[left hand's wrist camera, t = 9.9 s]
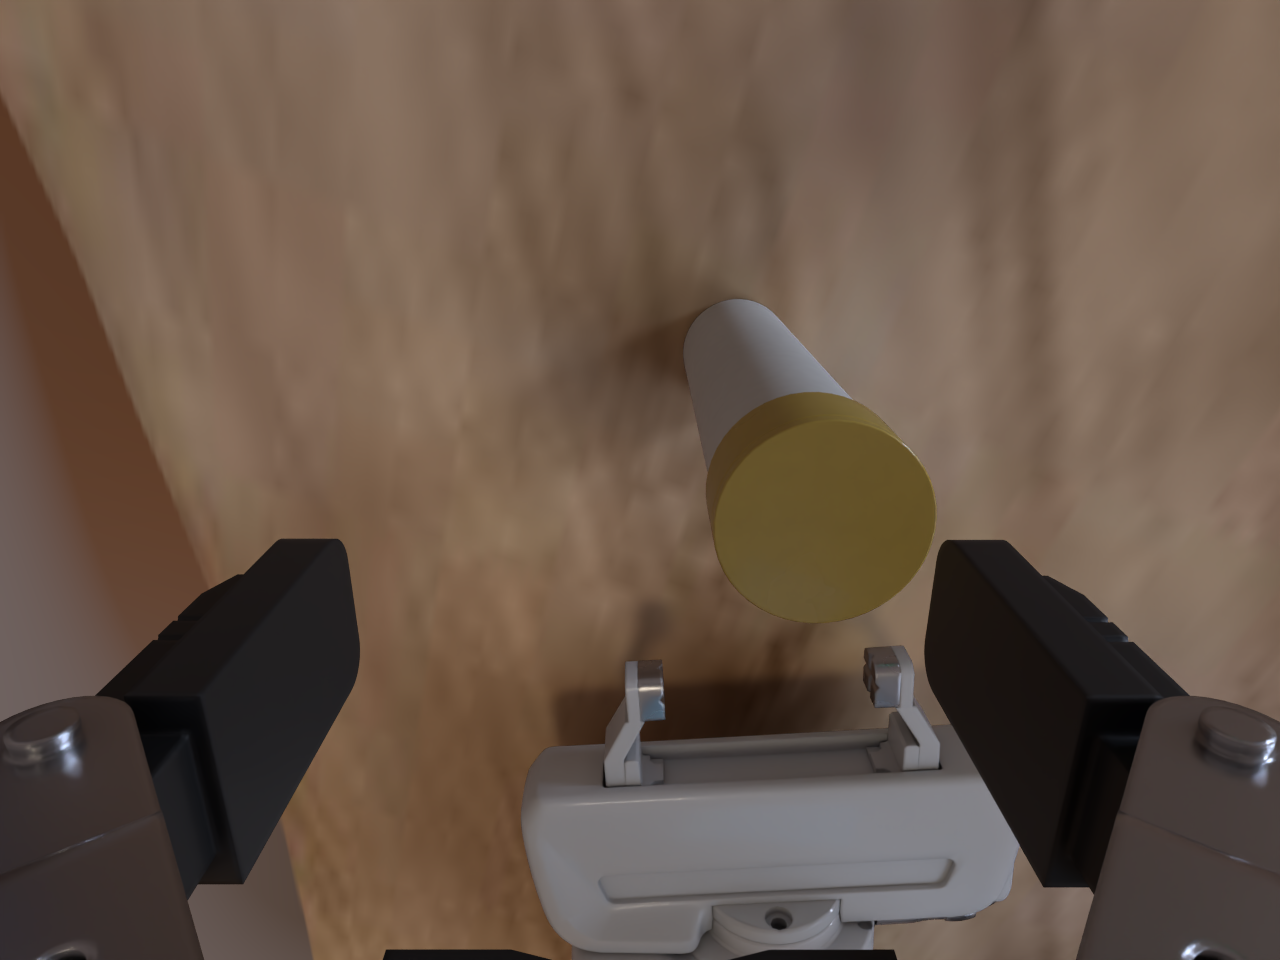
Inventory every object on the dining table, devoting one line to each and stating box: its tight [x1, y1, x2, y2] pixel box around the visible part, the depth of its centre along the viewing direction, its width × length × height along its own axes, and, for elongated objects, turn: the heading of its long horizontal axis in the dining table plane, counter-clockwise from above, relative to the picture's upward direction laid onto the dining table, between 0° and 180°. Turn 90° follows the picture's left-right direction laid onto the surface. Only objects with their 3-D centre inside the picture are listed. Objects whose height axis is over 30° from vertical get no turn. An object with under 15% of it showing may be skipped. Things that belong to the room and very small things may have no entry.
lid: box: [706, 392, 937, 623], centre depth 18 cm, size 5×5×2 cm
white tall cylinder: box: [683, 299, 851, 472], centre depth 26 cm, size 4×4×17 cm
